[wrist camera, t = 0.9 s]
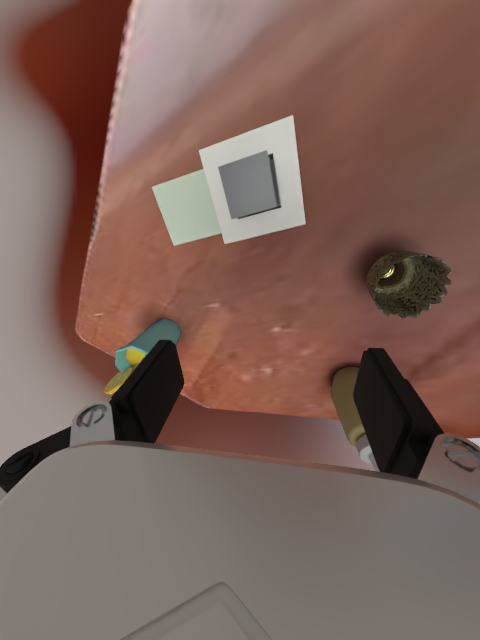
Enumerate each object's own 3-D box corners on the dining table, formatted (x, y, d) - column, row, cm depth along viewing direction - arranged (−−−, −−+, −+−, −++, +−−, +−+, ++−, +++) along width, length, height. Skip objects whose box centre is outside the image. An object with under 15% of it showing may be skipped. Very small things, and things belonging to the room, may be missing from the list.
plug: (271, 163, 27) (266, 150, 19) (277, 203, 29) (276, 206, 21) (237, 175, 29) (218, 166, 20) (245, 212, 30) (231, 219, 22)
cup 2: (345, 286, 34) (362, 310, 27) (369, 235, 30) (395, 248, 23) (395, 298, 33) (425, 325, 26) (425, 248, 30) (469, 265, 23)
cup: (175, 290, 39) (121, 338, 26) (208, 320, 40) (174, 378, 28) (136, 334, 45) (78, 391, 32) (167, 358, 47) (123, 421, 34)
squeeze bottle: (356, 353, 39) (405, 458, 23) (383, 380, 41) (446, 494, 25) (317, 375, 43) (338, 479, 27) (344, 399, 44) (378, 509, 29)
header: (291, 128, 26) (292, 114, 22) (302, 219, 30) (305, 224, 26) (211, 156, 28) (198, 150, 24) (232, 237, 33) (224, 244, 29)
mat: (206, 168, 29) (205, 168, 29) (223, 232, 33) (222, 232, 32) (153, 187, 31) (151, 186, 31) (175, 245, 35) (173, 245, 34)
